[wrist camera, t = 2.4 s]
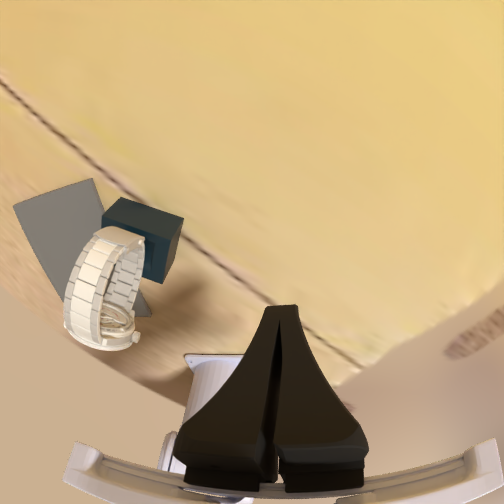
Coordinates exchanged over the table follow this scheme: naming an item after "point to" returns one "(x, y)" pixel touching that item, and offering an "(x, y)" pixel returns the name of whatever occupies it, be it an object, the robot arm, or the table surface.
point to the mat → (66, 232)
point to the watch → (118, 273)
